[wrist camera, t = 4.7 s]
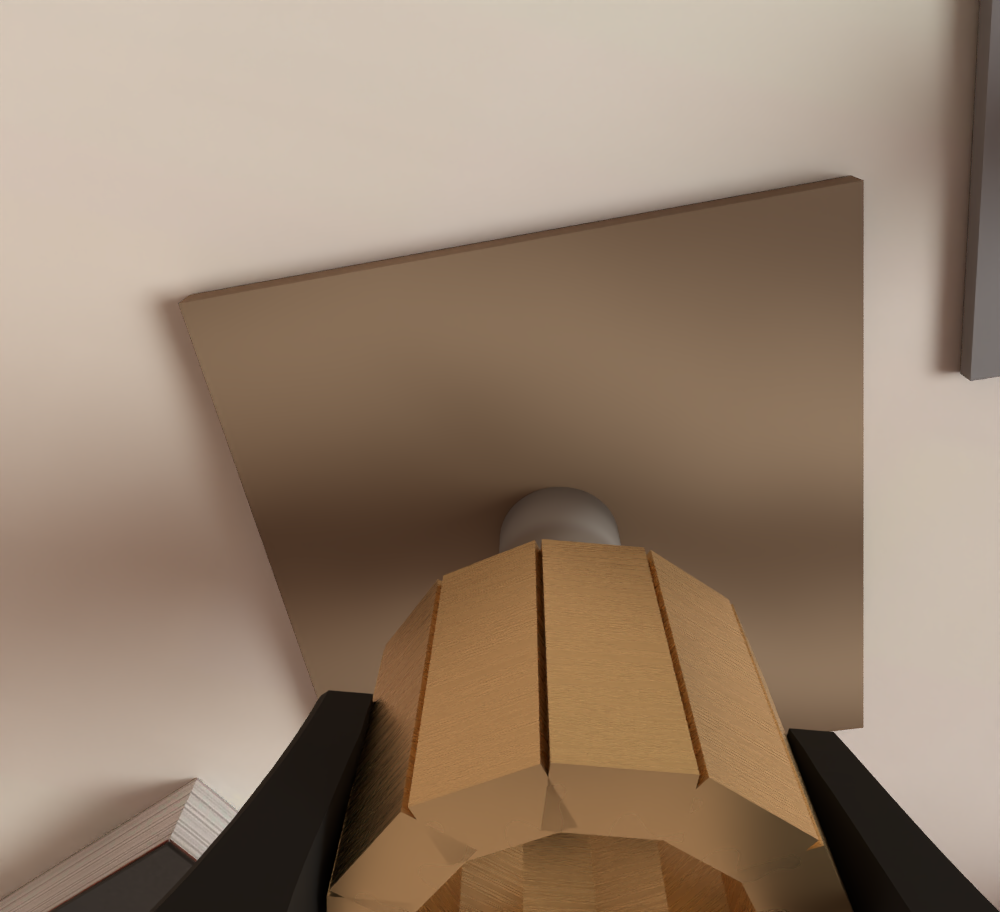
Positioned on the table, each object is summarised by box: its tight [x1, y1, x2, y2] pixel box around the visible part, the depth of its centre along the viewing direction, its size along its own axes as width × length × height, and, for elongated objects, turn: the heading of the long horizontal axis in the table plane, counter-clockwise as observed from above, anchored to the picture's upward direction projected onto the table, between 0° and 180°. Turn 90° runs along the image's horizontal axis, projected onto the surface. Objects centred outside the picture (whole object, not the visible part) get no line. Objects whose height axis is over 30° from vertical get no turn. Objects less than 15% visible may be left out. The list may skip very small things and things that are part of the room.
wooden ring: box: [327, 539, 854, 912], centre depth 11 cm, size 6×6×4 cm
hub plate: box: [179, 176, 863, 736], centre depth 15 cm, size 12×12×5 cm
